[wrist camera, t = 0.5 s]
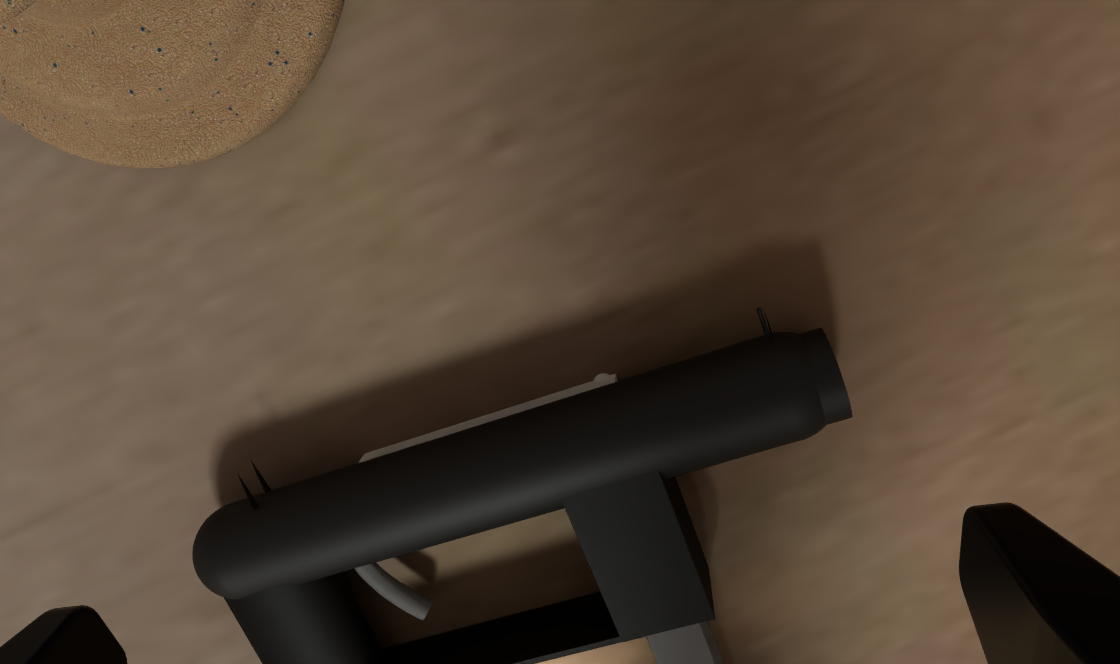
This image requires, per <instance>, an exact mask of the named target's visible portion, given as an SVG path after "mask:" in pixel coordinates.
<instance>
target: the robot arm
mask: <svg viewBox="0 0 1120 664" xmlns="http://www.w3.org/2000/svg"><path fill="white" fill-rule="evenodd" d="M959 576H960V582H961V586H962V590H963V593H964V596H965V599H966V602H967V605H968V607H969V610H970V613H971V616H972V619H973V622H974V625H975V628H976V631H977V633H978V636H979V639H980V642H981V645H982V648H983V651H984V654H985V657H986V659H987V662H988V664H1120V576H1118V575H1117V574H1115V573H1114V572H1113V571H1111V570H1110V569H1108V568H1107V567H1105V566H1104V565H1103V564H1101V563H1100V562H1098V561H1097V560H1095V559H1094V558H1093V557H1091V556H1090V555H1088V554H1087V553H1085V552H1084V551H1082V550H1081V549H1080V548H1078V547H1077V546H1075V545H1074V544H1072V543H1071V542H1070V541H1068V540H1067V539H1065V538H1064V537H1062V536H1061V535H1060V534H1058V533H1057V532H1055V531H1054V530H1052V529H1051V528H1050V527H1048V526H1047V525H1045V524H1044V523H1042V522H1041V521H1040V520H1038V519H1037V518H1035V517H1034V516H1032V515H1031V514H1030V513H1028V512H1027V511H1025V510H1024V509H1022V508H1021V507H1019V506H1017V505H1015V504H1012V503H996V504H987V505H978V506H972V507H970V508H968V509H967V510H966V512H965V514H964V517H963V525H962V536H961V548H960V559H959ZM0 664H127V658H126V654H125V652H124V650H123V648H122V647H121V645H120V644H119V643H118V641H117V640H116V638H115V637H114V636H113V634H112V633H111V631H110V630H109V629H108V627H107V626H106V624H105V623H104V622H103V620H102V619H101V617H100V616H99V614H98V613H97V612H96V611H95V610H94V609H93V608H91V607H89V606H84V605H80V606H71V607H62V608H55V609H52V610H49V611H47V612H45V613H43V614H42V615H40V616H39V617H38V618H37V619H35V620H34V621H33V622H32V623H30V624H29V625H28V626H26V627H25V628H24V629H23V630H21V631H20V632H19V633H18V634H16V635H15V636H14V637H13V638H11V639H10V640H9V641H7V642H6V643H5V644H4V645H2V646H1V647H0Z"/></svg>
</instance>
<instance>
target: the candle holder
mask: <svg viewBox="0 0 1120 664" xmlns="http://www.w3.org/2000/svg"><path fill="white" fill-rule="evenodd" d="M343 1H344V0H0V113H1V114H2V115H4V116H5V117H6V118H7V119H9V120H10V121H12V122H13V123H15V124H17V125H18V126H20V127H21V128H23V129H24V130H26V131H27V132H29V133H30V134H32V135H33V136H35V137H37V138H38V139H40V140H42V141H45V142H47V143H49V144H51V145H53V146H55V147H57V148H60V149H62V150H64V151H66V152H68V153H70V154H73V155H76V156H79V157H83V158H86V159H89V160H93V161H96V162H100V163H103V164H109V165H117V166H124V167H132V168H168V167H178V166H183V165H187V164H192V163H197V162H201V161H206V160H209V159H212V158H214V157H217V156H219V155H222V154H224V153H227V152H229V151H231V150H234V149H236V148H239V147H241V146H242V145H244V144H245V143H247V142H248V141H250V140H251V139H253V138H255V137H256V136H258V135H259V134H261V133H262V132H264V131H265V130H267V129H268V128H269V127H270V126H271V125H272V124H273V123H275V122H276V121H277V120H278V119H279V118H280V117H281V116H282V115H283V114H284V113H285V112H286V111H287V110H289V109H290V108H291V107H292V106H293V105H294V103H295V102H296V101H297V99H298V98H299V97H300V95H301V94H302V93H303V91H304V90H305V89H306V88H307V86H308V85H309V84H310V82H311V81H312V80H313V78H314V76H315V74H316V73H317V71H318V69H319V67H320V65H321V63H322V61H323V59H324V57H325V56H326V54H327V52H328V50H329V48H330V45H331V42H332V39H333V36H334V33H335V30H336V27H337V24H338V21H339V19H340V16H341V12H342V6H343Z"/></svg>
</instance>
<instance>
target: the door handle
mask: <svg viewBox="0 0 1120 664" xmlns="http://www.w3.org/2000/svg"><path fill="white" fill-rule="evenodd" d="M757 313H758V316H759V319H760V322H761V325H762V328H763V331H764V334H765V335H763V336H760V337H757V338H753V339H750V340H747V341H744V342H741V343H738V344H734V345H731V346H728V347H725V348H722V349H719V350H715V351H712V352H709V353H706V354H703V355H700V356H696V357H693V358H690V359H687V360H684V361H681V362H677V363H674V364H671V365H668V366H665V367H662V368H658V369H655V370H652V371H649V372H646V373H643V374H639V375H636V376H633V377H630V378H627V379H624V380H620V381H618V378H617V376H616V374H613V375H609V374H606V373H601V374H598V375H597V376H596V377H595V378H594V380H593V381H591V382H587V383H584V384H581V385H578V386H575V387H572V388H569V389H565V390H562V391H559V392H556V393H553V394H550V395H547V396H544V397H540V398H537V399H534V400H531V401H528V402H525V403H522V404H518V405H515V406H512V407H509V408H506V409H503V410H500V411H496V412H493V413H490V414H487V415H484V416H481V417H478V418H475V419H471V420H468V421H465V422H462V423H459V424H456V425H453V426H449V427H446V428H443V429H440V430H437V431H434V432H431V433H427V434H424V435H421V436H418V437H415V438H412V439H409V440H405V441H402V442H399V443H396V444H393V445H390V446H387V447H384V448H380V449H377V450H374V451H371V452H368V453H365V454H364V455H363V456H362V458H361V459H360V461H359V462H358V463H357V464H354V465H351V466H348V467H345V468H342V469H338V470H335V471H332V472H329V473H326V474H323V475H319V476H316V477H313V478H310V479H307V480H304V481H300V482H297V483H294V484H291V485H288V486H285V487H281V488H278V489H275V490H271V489H270V488H269V486H268V485H267V483H266V482H265V480H264V479H263V477H262V476H261V474H260V473H259V471H258V470H257V468H256V467H255V465H254V464H253V462H252V461H251V462H252V464H253V466H254V469H255V471H256V473H257V476H258V478H259V480H260V483H261V485H262V487H263V490H264V492H265V493H262V494H259V495H256V496H252V494H251V493H250V491H249V490H248V488H247V487H246V485H245V484H244V483H243V481H242V480H241V478H240V477H239V478H240V481H241V483H242V485H243V488H244V490H245V492H246V495H247V497H248V498H247V499H243V500H240V501H237V502H234V503H231V504H228V505H226V506H224V507H222V508H220V509H218V510H217V511H215V512H214V513H213V514H212V515H210V516H209V517H208V518H207V519H206V521H205V522H204V523H203V524H202V526H201V527H200V529H199V531H198V533H197V535H196V538H195V541H194V545H193V564H194V568H195V571H196V573H197V575H198V577H199V579H200V580H201V582H202V583H203V584H204V585H205V586H206V587H207V588H208V589H209V590H211V591H212V592H214V593H215V594H217V595H219V596H222V597H224V599H225V600H226V602H227V604H228V606H229V607H230V609H231V611H232V612H233V614H234V616H235V618H236V619H237V621H238V623H239V624H240V626H241V628H242V629H243V631H244V633H245V635H246V636H247V638H248V640H249V641H250V643H251V645H252V647H253V648H254V650H255V652H256V653H257V655H258V657H259V658H260V660H261V662H262V664H535V663H539V662H543V661H547V660H551V659H555V658H559V657H563V656H567V655H571V654H575V653H579V652H583V651H588V650H592V649H596V648H600V647H604V646H608V645H612V644H616V643H620V642H625V641H629V640H633V639H637V638H641V637H645V636H646V638H647V640H648V642H649V645H650V647H651V650H652V652H653V654H654V657H655V659H656V662H657V664H724V662H723V659H722V657H721V654H720V651H719V649H718V646H717V643H716V641H715V638H714V635H713V633H712V630H711V627H710V625H709V622H708V621H710V620H714V619H715V614H714V606H713V598H712V590H711V583H710V575H709V568H708V565H707V562H706V559H705V557H704V554H703V551H702V548H701V546H700V543H699V540H698V538H697V535H696V532H695V529H694V527H693V524H692V521H691V518H690V516H689V513H688V510H687V508H686V505H685V502H684V499H683V497H682V494H681V491H680V488H679V486H678V483H677V480H676V478H675V476H678V475H681V474H685V473H688V472H692V471H695V470H699V469H702V468H706V467H709V466H713V465H716V464H720V463H723V462H727V461H730V460H734V459H737V458H741V457H744V456H748V455H751V454H755V453H758V452H761V451H765V450H768V449H772V448H775V447H779V446H782V445H786V444H789V443H793V442H796V441H800V440H803V439H806V438H808V437H810V436H812V435H814V434H816V433H817V432H819V431H820V430H821V429H823V428H824V427H825V426H826V425H827V424H831V423H834V422H838V421H841V420H845V419H848V418H851V417H852V410H851V406H850V401H849V398H848V394H847V391H846V387H845V384H844V381H843V378H842V375H841V372H840V369H839V367H838V364H837V361H836V358H835V356H834V353H833V351H832V348H831V346H830V344H829V341H828V339H827V337H826V335H825V333H824V331H823V330H822V328H817V329H814V330H811V331H808V332H805V333H801V334H796V333H791V332H776V333H775V332H774V333H772V331H771V328H770V325H769V322H768V320H767V323H768V327H769V330H770V334H769V332H768V328H767V325H766V322H765V319H764V316H763V313H762V310H761V308H757ZM765 316H766V314H765ZM766 319H767V317H766ZM238 476H239V475H238ZM563 508H565V509H566V512H567V514H568V516H569V519H570V521H571V523H572V526H573V528H574V530H575V533H576V535H577V537H578V540H579V542H580V544H581V547H582V549H583V552H584V554H585V556H586V559H587V561H588V563H589V566H590V568H591V570H592V573H593V575H594V577H595V580H596V582H597V584H598V587H599V589H600V591H601V592H598V593H594V594H590V595H586V596H583V597H579V598H575V599H571V600H567V601H564V602H560V603H556V604H552V605H548V606H545V607H541V608H537V609H533V610H529V611H526V612H522V613H518V614H514V615H510V616H507V617H503V618H499V619H495V620H492V621H488V622H484V623H480V624H476V625H473V626H469V627H465V628H461V629H457V630H454V631H450V632H446V633H442V634H438V635H435V636H431V637H427V638H423V639H419V640H416V641H412V642H408V643H404V644H400V645H397V646H393V647H389V648H385V649H381V647H380V645H379V643H378V641H377V639H376V637H375V636H374V634H373V632H372V630H371V628H370V626H369V624H368V622H367V620H366V619H365V617H364V615H363V613H362V611H361V609H360V607H359V605H358V604H357V602H356V600H355V598H354V596H353V594H352V592H351V590H350V588H349V587H348V585H347V583H346V581H345V579H344V577H343V575H342V573H341V572H344V571H347V570H351V569H355V570H356V572H357V573H358V574H359V575H360V576H361V577H362V578H363V579H364V580H365V581H366V582H367V583H368V584H369V585H370V586H371V587H372V588H373V589H374V590H375V591H377V592H378V593H379V594H380V595H382V596H383V597H384V598H386V599H387V600H388V601H390V602H391V603H393V604H394V605H396V606H397V607H399V608H401V609H402V610H404V611H406V612H407V613H409V614H411V615H413V616H415V617H416V618H418V619H420V620H422V621H423V620H424V618H425V617H426V615H427V613H428V611H429V609H430V606H431V604H432V600H430V599H428V598H426V597H424V596H422V595H420V594H419V593H417V592H415V591H413V590H412V589H410V588H408V587H407V586H405V585H404V584H402V583H401V582H399V581H398V580H396V579H395V578H394V577H392V576H391V575H390V574H388V573H387V572H386V571H385V570H383V569H382V568H381V567H380V566H379V565H378V564H377V563H376V562H379V561H382V560H386V559H389V558H393V557H396V556H400V555H403V554H407V553H410V552H414V551H417V550H421V549H424V548H428V547H431V546H434V545H438V544H441V543H445V542H448V541H452V540H455V539H459V538H462V537H466V536H469V535H473V534H476V533H480V532H483V531H487V530H490V529H494V528H497V527H501V526H504V525H508V524H511V523H514V522H518V521H521V520H525V519H528V518H532V517H535V516H539V515H542V514H546V513H549V512H553V511H556V510H560V509H563Z"/></svg>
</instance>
